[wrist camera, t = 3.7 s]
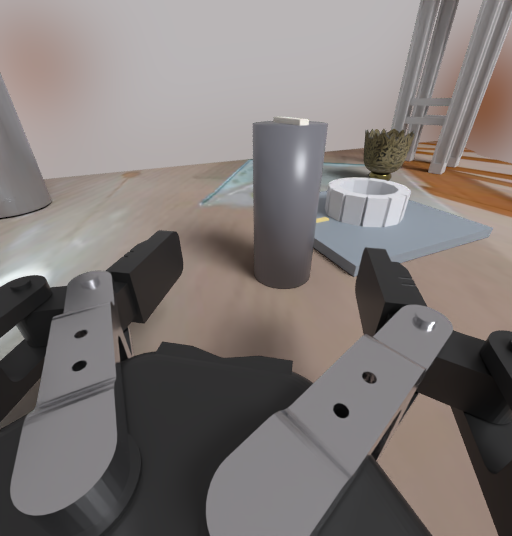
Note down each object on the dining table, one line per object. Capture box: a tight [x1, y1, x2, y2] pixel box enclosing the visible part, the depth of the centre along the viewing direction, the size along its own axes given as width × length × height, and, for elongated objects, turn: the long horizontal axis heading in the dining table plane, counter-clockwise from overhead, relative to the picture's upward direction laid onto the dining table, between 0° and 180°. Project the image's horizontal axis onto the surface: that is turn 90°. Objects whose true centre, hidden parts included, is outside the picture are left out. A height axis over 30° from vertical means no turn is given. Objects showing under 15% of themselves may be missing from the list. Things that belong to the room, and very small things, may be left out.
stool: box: [391, 0, 512, 174], centre depth 50 cm, size 16×16×35 cm
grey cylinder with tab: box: [253, 117, 328, 289], centre depth 20 cm, size 5×5×11 cm
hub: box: [313, 177, 493, 276], centre depth 31 cm, size 18×18×4 cm
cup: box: [364, 129, 416, 181], centre depth 46 cm, size 8×7×8 cm
